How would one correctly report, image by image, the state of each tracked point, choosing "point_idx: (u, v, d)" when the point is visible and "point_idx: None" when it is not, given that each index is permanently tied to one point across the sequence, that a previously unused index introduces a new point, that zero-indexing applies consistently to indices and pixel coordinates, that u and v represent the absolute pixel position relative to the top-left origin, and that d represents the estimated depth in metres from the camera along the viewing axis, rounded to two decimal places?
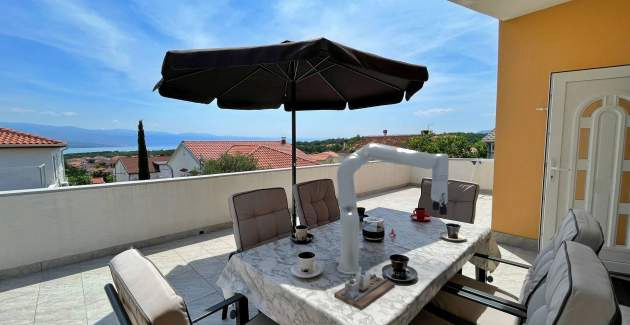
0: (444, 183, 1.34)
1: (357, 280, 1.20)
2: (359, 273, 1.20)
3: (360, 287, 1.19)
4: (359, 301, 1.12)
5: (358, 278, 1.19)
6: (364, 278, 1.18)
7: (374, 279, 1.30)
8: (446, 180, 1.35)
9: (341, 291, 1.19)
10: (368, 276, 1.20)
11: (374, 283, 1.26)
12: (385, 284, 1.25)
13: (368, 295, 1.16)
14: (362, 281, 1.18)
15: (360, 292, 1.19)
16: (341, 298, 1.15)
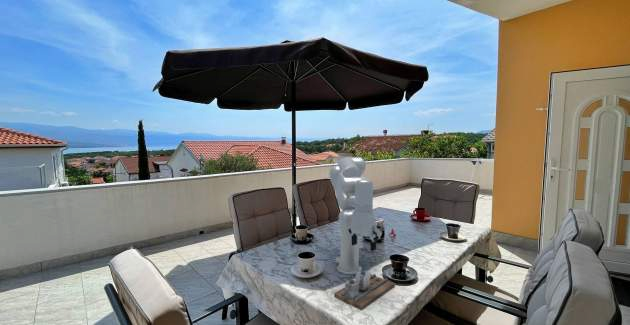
0: (373, 214, 1.16)
1: (357, 280, 1.20)
2: (359, 273, 1.20)
3: (360, 287, 1.19)
4: (359, 301, 1.12)
5: (358, 278, 1.19)
6: (364, 278, 1.18)
7: (374, 279, 1.30)
8: (372, 210, 1.18)
9: (341, 291, 1.19)
10: (368, 276, 1.20)
11: (374, 283, 1.26)
12: (385, 284, 1.25)
13: (368, 295, 1.16)
14: (362, 281, 1.18)
15: (360, 292, 1.19)
16: (341, 298, 1.15)
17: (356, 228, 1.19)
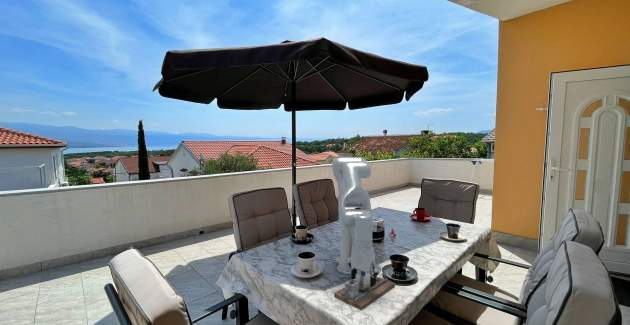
0: (373, 249, 1.17)
1: (357, 280, 1.20)
2: (359, 273, 1.20)
3: (360, 287, 1.19)
4: (359, 301, 1.12)
5: (358, 278, 1.19)
6: (364, 278, 1.18)
7: None
8: None
9: (341, 291, 1.19)
10: (368, 276, 1.20)
11: None
12: (385, 284, 1.25)
13: (368, 295, 1.16)
14: (362, 281, 1.18)
15: (360, 292, 1.19)
16: (341, 298, 1.15)
17: (356, 263, 1.19)
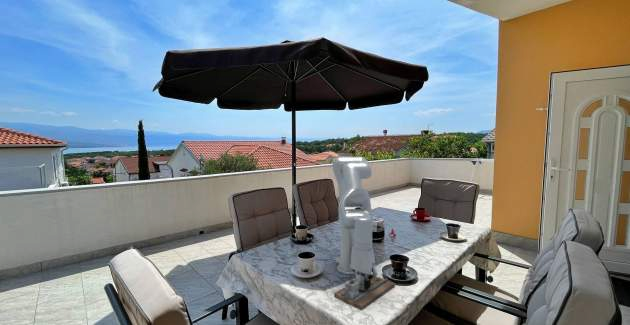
0: (372, 251, 1.17)
1: (357, 280, 1.20)
2: (359, 273, 1.20)
3: (360, 287, 1.19)
4: (359, 301, 1.12)
5: (358, 278, 1.19)
6: (364, 278, 1.18)
7: (374, 279, 1.30)
8: (371, 247, 1.19)
9: (341, 291, 1.19)
10: None
11: (374, 283, 1.26)
12: (385, 284, 1.25)
13: (368, 295, 1.16)
14: (362, 281, 1.18)
15: (360, 292, 1.19)
16: (341, 298, 1.15)
17: (356, 265, 1.19)
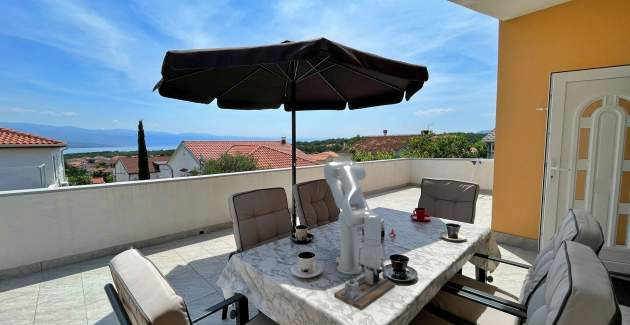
0: (381, 247, 1.22)
1: (366, 275, 1.24)
2: (368, 268, 1.25)
3: (369, 282, 1.24)
4: (359, 301, 1.12)
5: (367, 272, 1.24)
6: (373, 273, 1.23)
7: None
8: (380, 243, 1.24)
9: (341, 291, 1.19)
10: None
11: None
12: (385, 284, 1.25)
13: (368, 295, 1.16)
14: (371, 276, 1.23)
15: (360, 292, 1.19)
16: (341, 298, 1.15)
17: (365, 260, 1.24)
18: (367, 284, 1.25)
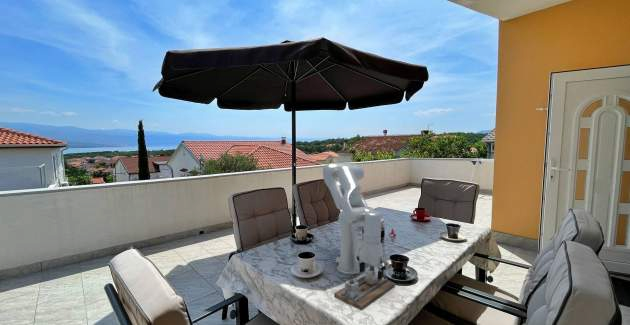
0: (381, 245, 1.22)
1: (366, 275, 1.24)
2: (368, 268, 1.25)
3: (369, 282, 1.24)
4: (359, 301, 1.12)
5: (367, 272, 1.24)
6: (373, 273, 1.23)
7: None
8: None
9: (341, 291, 1.19)
10: (377, 271, 1.25)
11: None
12: (385, 284, 1.25)
13: (368, 295, 1.16)
14: (371, 276, 1.23)
15: (360, 292, 1.19)
16: (341, 298, 1.15)
17: (364, 257, 1.25)
18: (367, 284, 1.25)
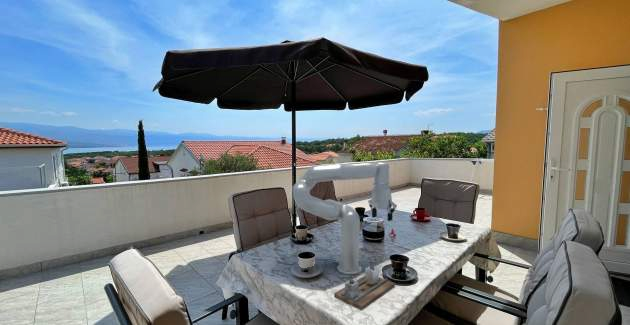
0: (389, 190, 1.40)
1: (366, 275, 1.24)
2: (368, 268, 1.25)
3: (369, 282, 1.24)
4: (359, 301, 1.12)
5: (367, 272, 1.24)
6: (373, 273, 1.23)
7: None
8: None
9: (341, 291, 1.19)
10: (377, 271, 1.25)
11: None
12: (385, 284, 1.25)
13: (368, 295, 1.16)
14: (371, 276, 1.23)
15: (360, 292, 1.19)
16: (341, 298, 1.15)
17: (375, 202, 1.43)
18: (367, 284, 1.25)
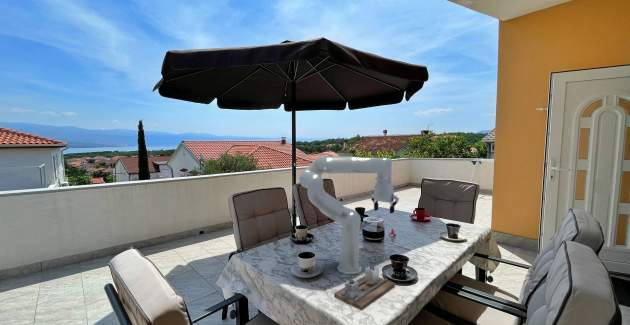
0: (392, 184, 1.48)
1: (366, 275, 1.24)
2: (368, 268, 1.25)
3: (369, 282, 1.24)
4: (359, 301, 1.12)
5: (367, 272, 1.24)
6: (373, 273, 1.23)
7: None
8: None
9: (341, 291, 1.19)
10: (377, 271, 1.25)
11: None
12: (385, 284, 1.25)
13: (368, 295, 1.16)
14: (371, 276, 1.23)
15: (360, 292, 1.19)
16: (341, 298, 1.15)
17: (378, 196, 1.51)
18: (367, 284, 1.25)
